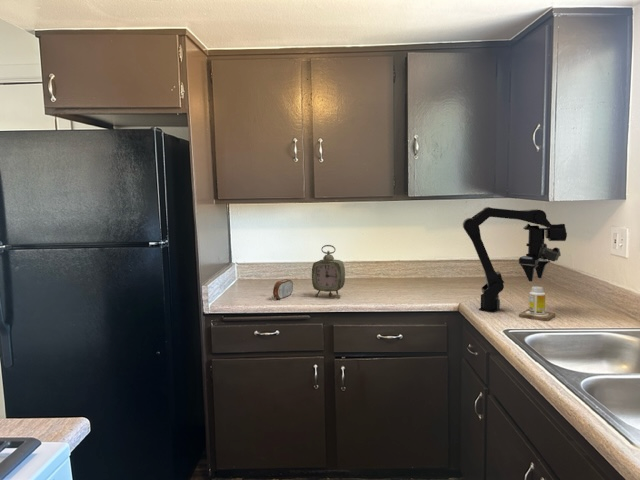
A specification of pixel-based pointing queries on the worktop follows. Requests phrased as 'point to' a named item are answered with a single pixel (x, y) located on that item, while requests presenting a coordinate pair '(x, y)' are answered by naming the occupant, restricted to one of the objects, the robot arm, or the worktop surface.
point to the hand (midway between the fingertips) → (535, 279)
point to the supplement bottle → (537, 300)
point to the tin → (283, 289)
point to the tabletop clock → (328, 274)
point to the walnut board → (537, 315)
